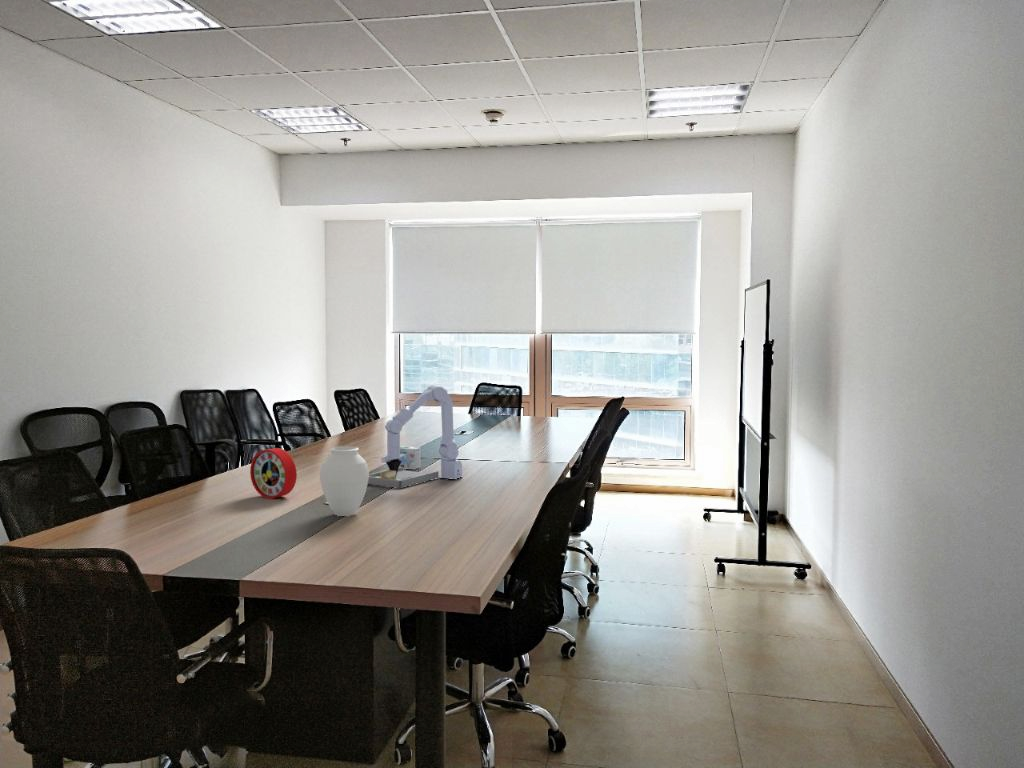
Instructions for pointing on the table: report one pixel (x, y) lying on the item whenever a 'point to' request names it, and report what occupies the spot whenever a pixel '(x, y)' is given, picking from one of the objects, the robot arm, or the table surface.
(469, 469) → the table surface
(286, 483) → the toy clock
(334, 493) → the vase
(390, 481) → the grey tray
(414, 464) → the light bulb box
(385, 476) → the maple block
